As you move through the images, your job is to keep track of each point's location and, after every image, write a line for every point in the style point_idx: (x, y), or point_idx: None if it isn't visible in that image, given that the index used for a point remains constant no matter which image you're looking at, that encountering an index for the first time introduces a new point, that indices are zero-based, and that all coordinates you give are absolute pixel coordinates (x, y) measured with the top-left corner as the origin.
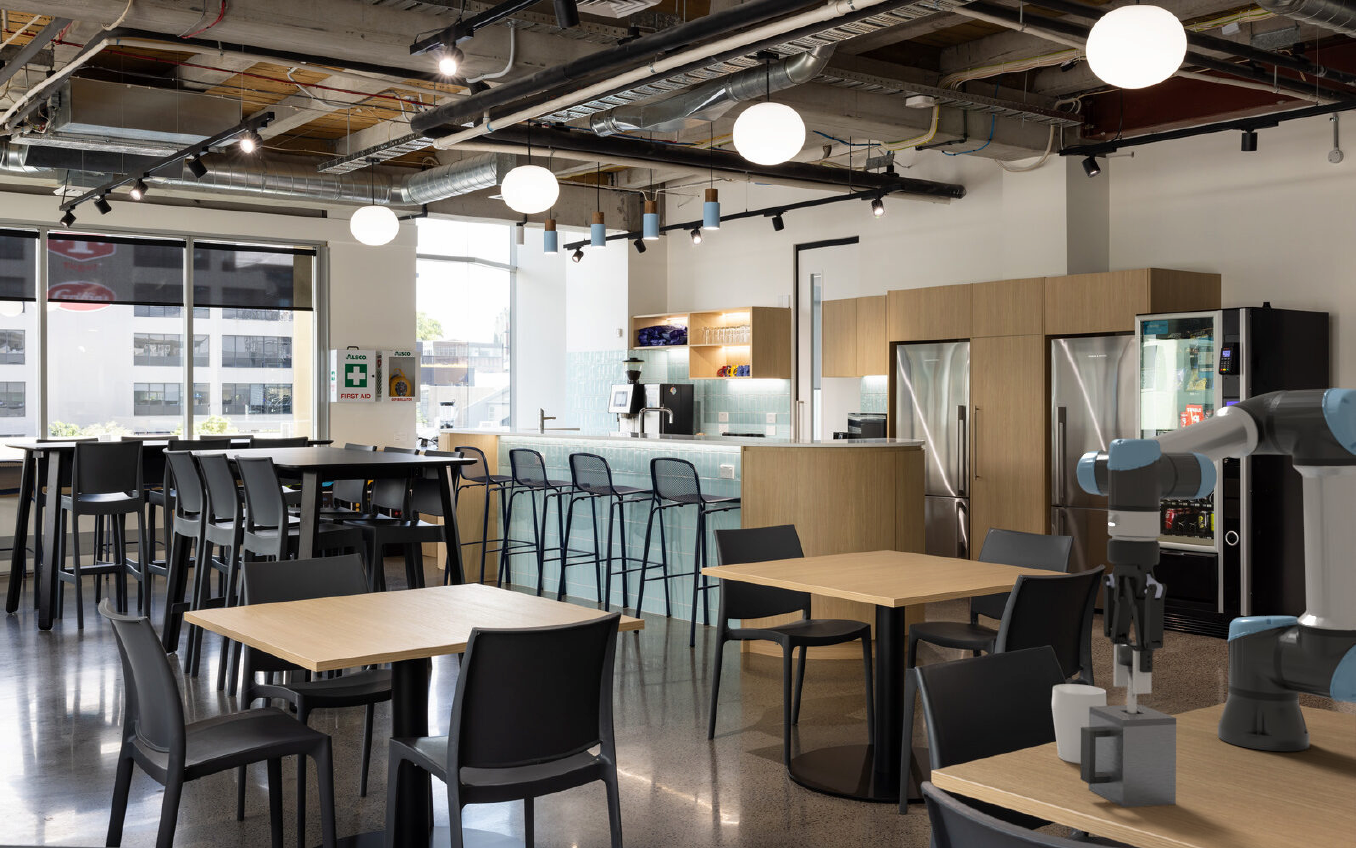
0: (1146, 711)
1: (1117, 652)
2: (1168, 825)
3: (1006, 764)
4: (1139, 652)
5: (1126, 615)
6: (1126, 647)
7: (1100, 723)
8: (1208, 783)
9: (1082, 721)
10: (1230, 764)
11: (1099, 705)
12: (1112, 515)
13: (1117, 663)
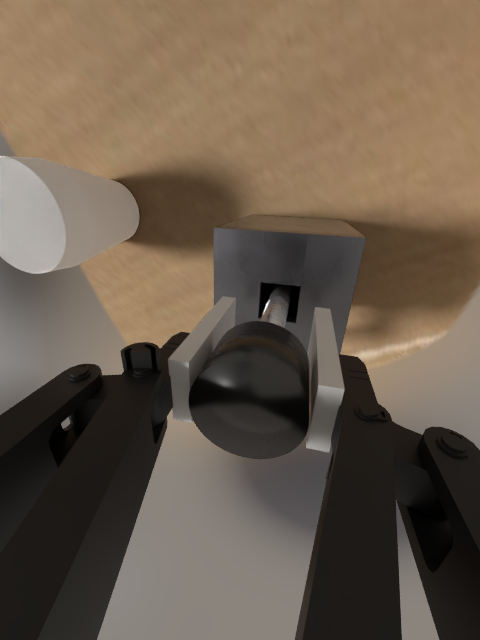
0: (281, 264)
1: None
2: (412, 298)
3: (136, 321)
4: (331, 434)
5: (105, 540)
6: (273, 453)
7: None
8: (262, 58)
9: (104, 238)
10: None
11: (78, 205)
12: None
13: None
